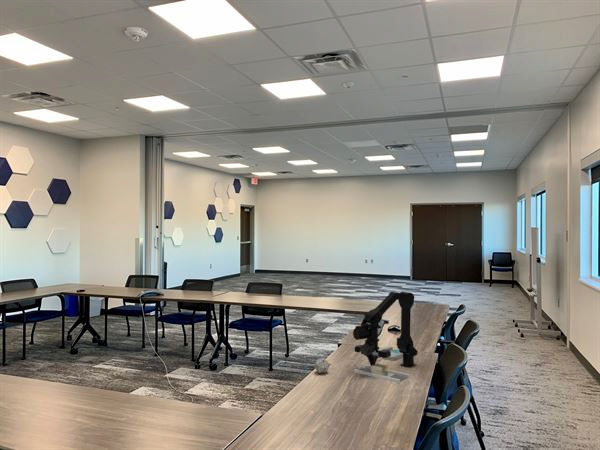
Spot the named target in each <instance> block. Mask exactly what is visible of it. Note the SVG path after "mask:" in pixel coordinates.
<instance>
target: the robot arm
mask: <svg viewBox="0 0 600 450" xmlns="http://www.w3.org/2000/svg"><path fill="white" fill-rule="evenodd" d="M396 301H398V304H399V306H400V313H401V314H400V336H399V337H397V338H396V345H395V346H396V348H397V350H399V352H400V353H403V358H402V363H401V364H400V366H401V367H407V368H413V367H416V366H417V363H415V360H414V359H415V357H416V356H417V355H418V350H417V349H416V348H415V347H414V341H413V338H412V336H411V312H412V311H411V309H412V307H413V306H414V302H415V295H414V294H413V293H412V292H408V291H400V292H396V291H390V292H389V293H388V295H387V296H386V297H385V298H384V299H383V300H382V301H381V302H380V303H379V304H378V305H377V306H375V308H373V309H370V310H369V311H368V312H366V313H365V315H364V317H363V319H362V320H361V322H360V325H355V328H354V329H353V331H352V336H353V338H354V339H355V340H356V341H359V340H364V343H363V344H358V345H356V346H355V347H354V352H355V353H360V354H361V355H364V356H365V357H366V358H367V360H368V363H369V365H370V366H372V365H374V364H377V360H378V359H379V358H378V357H382V358H387V357H389V356H391V352H390V350H385V349H383V350H380V351H379V350H378V349H380V347H379V341H380V339H379V329H382V326H381V325H380V324H379V323H380V322H381V320H382V319H383V315H384V314H385V313H386V312H387V310H389V309H390V308H391V306H392V305H394V304H395V302H396ZM382 358H381V359H382Z"/></svg>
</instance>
